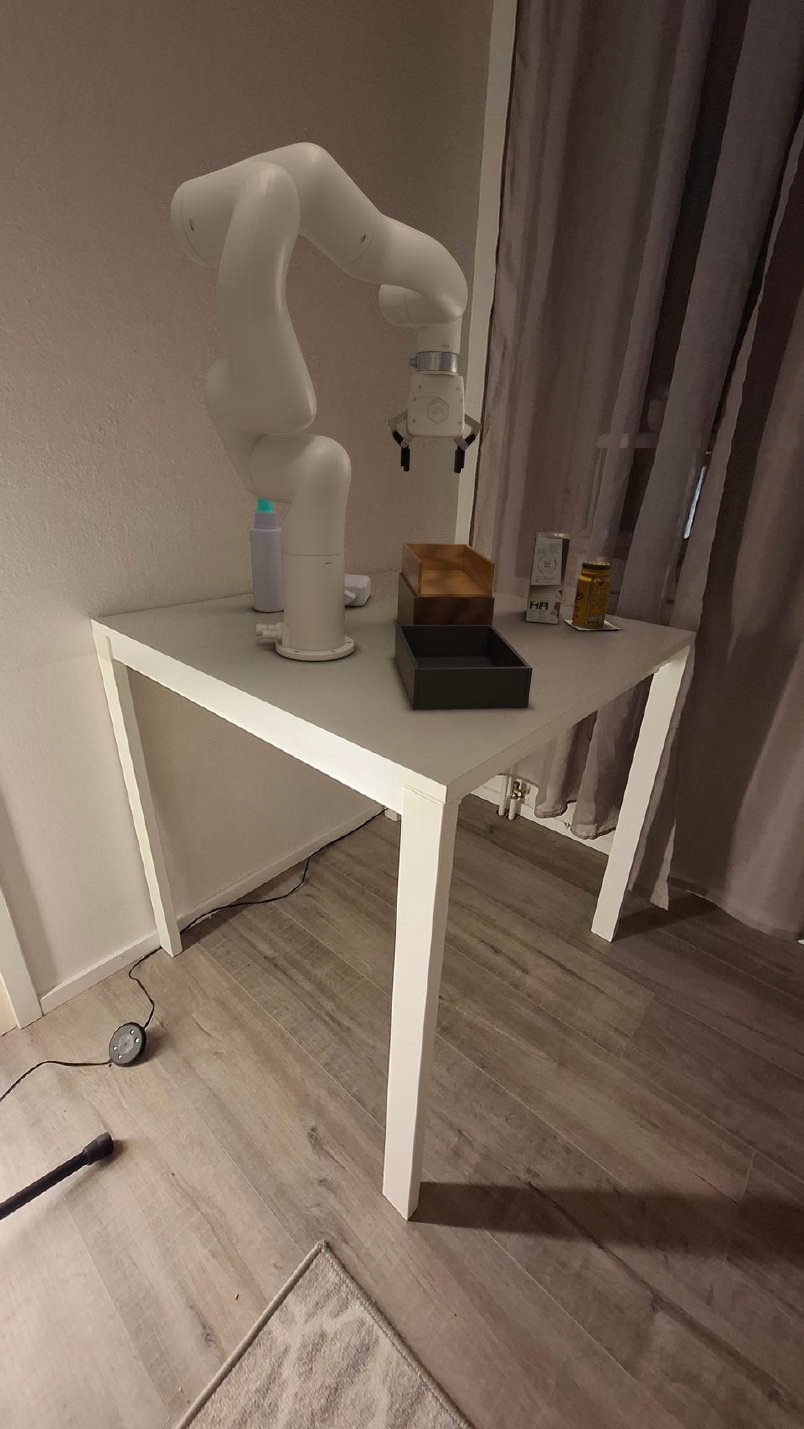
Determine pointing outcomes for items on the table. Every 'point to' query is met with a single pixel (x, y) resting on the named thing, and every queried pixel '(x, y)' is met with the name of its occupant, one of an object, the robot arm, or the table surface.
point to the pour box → (447, 570)
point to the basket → (460, 667)
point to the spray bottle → (266, 559)
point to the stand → (441, 608)
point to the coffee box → (547, 577)
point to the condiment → (592, 597)
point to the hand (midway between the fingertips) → (431, 472)
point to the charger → (356, 589)
